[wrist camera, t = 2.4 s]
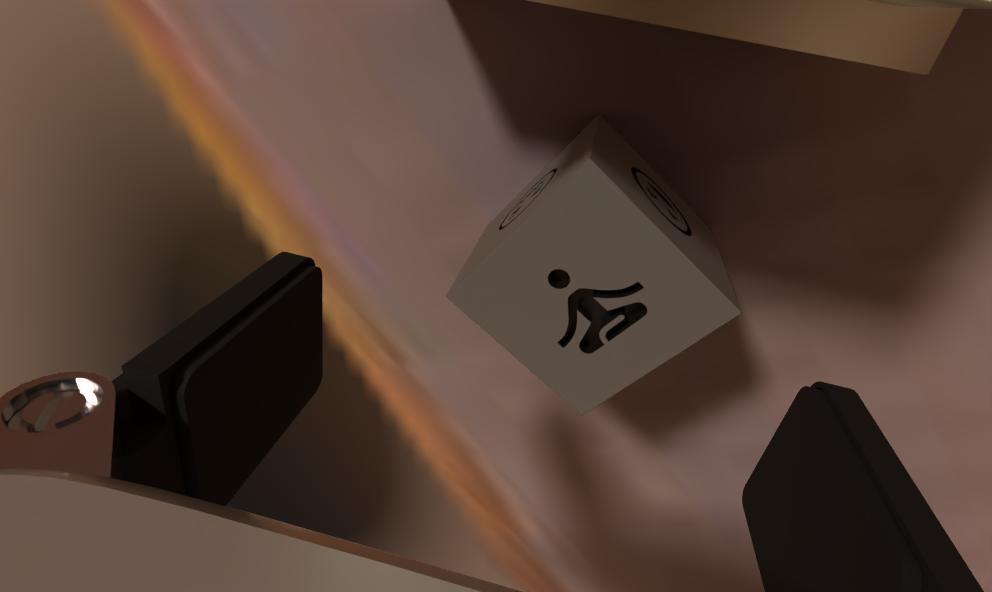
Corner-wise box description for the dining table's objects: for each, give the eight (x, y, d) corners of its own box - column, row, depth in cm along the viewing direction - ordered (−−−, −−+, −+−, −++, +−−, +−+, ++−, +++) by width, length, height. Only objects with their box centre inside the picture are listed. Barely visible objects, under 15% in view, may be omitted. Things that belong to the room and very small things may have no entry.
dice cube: (591, 320, 19) (581, 415, 15) (488, 224, 18) (445, 296, 14) (711, 230, 16) (741, 313, 12) (599, 113, 15) (589, 158, 11)
